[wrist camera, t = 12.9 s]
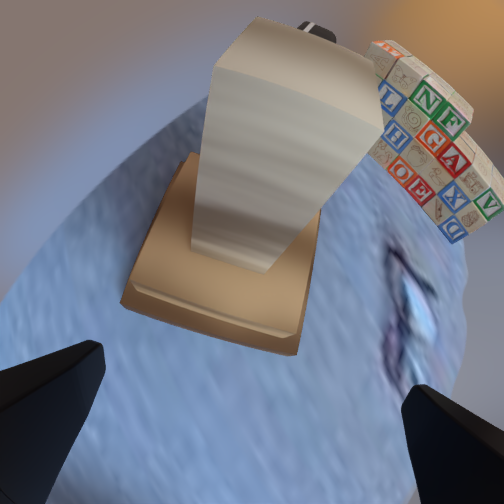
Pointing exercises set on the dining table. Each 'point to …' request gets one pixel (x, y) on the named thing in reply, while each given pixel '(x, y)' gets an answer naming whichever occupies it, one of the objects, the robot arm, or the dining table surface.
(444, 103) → the stack of blocks
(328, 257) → the dining table surface
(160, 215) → the maple block
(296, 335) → the wooden base plate
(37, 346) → the dining table surface
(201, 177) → the ash block
